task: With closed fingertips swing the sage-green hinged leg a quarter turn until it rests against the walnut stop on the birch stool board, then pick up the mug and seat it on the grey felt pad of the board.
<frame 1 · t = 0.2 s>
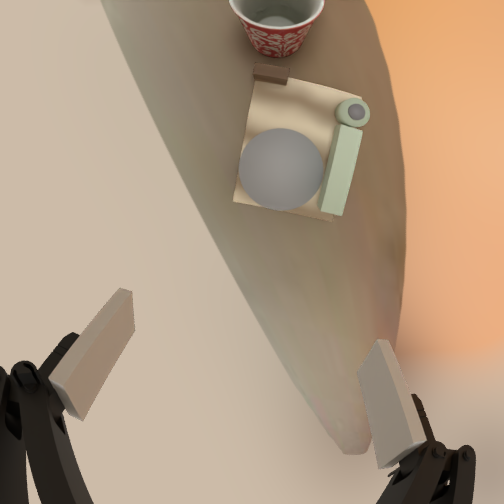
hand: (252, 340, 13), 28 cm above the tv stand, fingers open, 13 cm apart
mug: (285, 31, 28), on the tv stand
leg: (343, 155, 31), point 4 cm above the tv stand, hinge at 0.0°
stool board: (296, 146, 35), on the tv stand
seat pad: (280, 167, 36), resting on stool board
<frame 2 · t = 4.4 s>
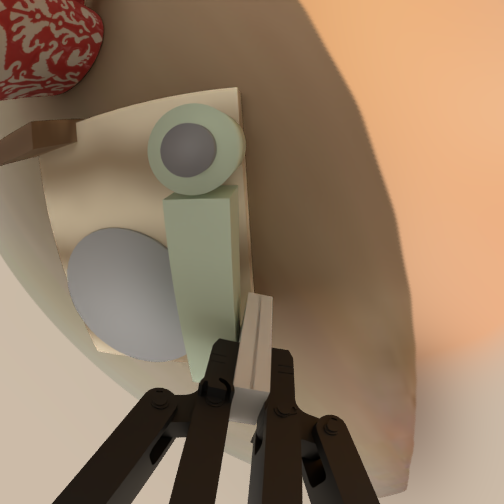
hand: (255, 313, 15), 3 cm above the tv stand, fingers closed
mug: (80, 33, 11), on the tv stand
leg: (206, 266, 13), point 4 cm above the tv stand, hinge at -3.2°, touching gripper
stool board: (148, 244, 18), on the tv stand
seat pad: (140, 288, 19), resting on stool board
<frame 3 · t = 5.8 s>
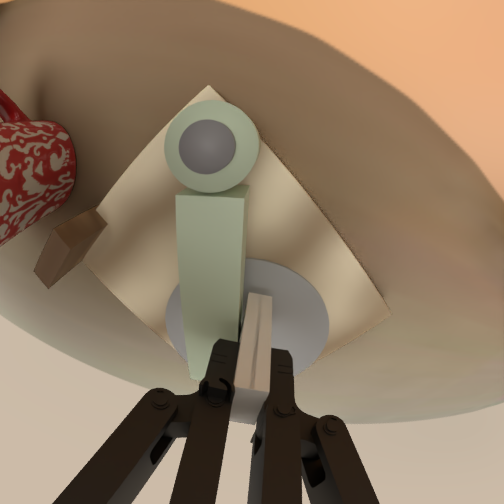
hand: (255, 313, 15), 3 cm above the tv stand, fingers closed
mug: (46, 145, 15), on the tv stand
leg: (213, 264, 13), point 4 cm above the tv stand, hinge at -44.6°, touching gripper
stool board: (230, 269, 18), on the tv stand
seat pad: (248, 314, 20), resting on stool board
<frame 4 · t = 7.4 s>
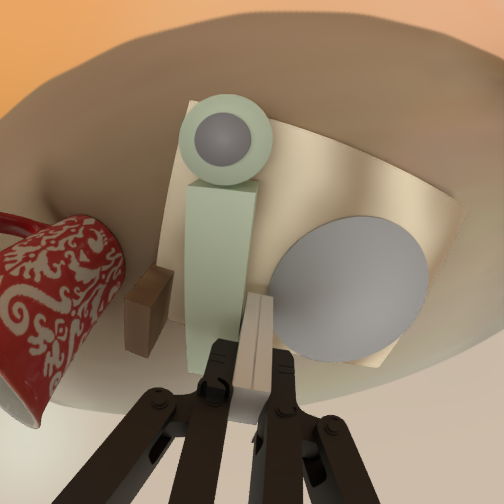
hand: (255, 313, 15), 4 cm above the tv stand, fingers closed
mug: (78, 239, 19), on the tv stand
leg: (219, 258, 13), point 4 cm above the tv stand, hinge at -80.6°, touching gripper
stool board: (308, 250, 17), on the tv stand
seat pad: (346, 283, 18), resting on stool board
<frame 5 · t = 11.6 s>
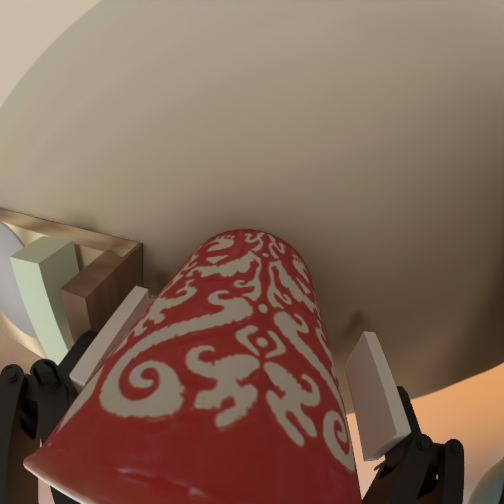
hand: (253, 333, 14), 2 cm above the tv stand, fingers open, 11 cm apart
mug: (264, 306, 16), on the tv stand
leg: (71, 353, 14), point 4 cm above the tv stand, hinge at -83.7°
stool board: (52, 297, 18), on the tv stand
seat pad: (24, 271, 17), resting on stool board
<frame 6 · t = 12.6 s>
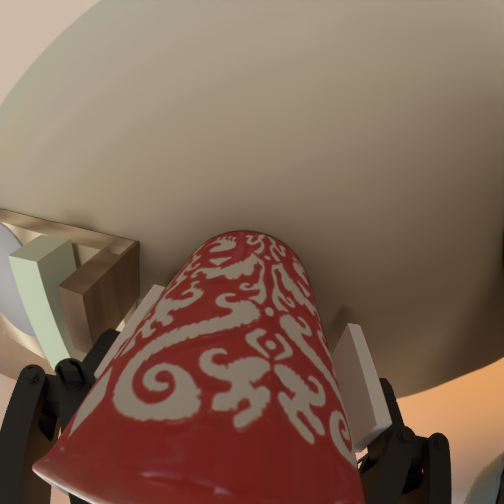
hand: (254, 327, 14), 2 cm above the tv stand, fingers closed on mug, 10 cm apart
mug: (261, 306, 16), on the tv stand, touching gripper
leg: (68, 351, 14), point 4 cm above the tv stand, hinge at -83.7°
stool board: (50, 296, 18), on the tv stand
seat pad: (22, 271, 17), resting on stool board
when the fingers open (6 cm above the tv stand, at t = 17.8 s): mug drops 1 cm, resting on seat pad.
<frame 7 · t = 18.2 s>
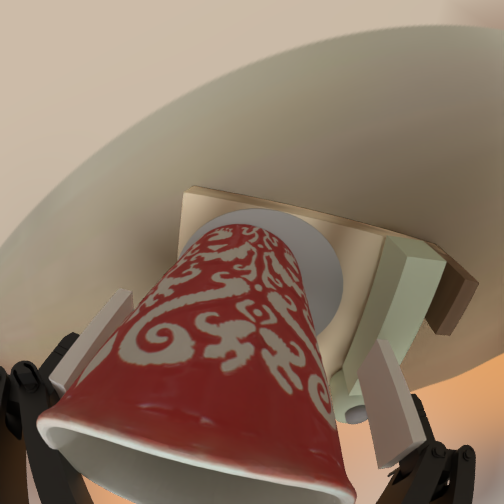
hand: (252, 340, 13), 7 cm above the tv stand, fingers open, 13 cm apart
mug: (256, 296, 18), point 2 cm above the tv stand, touching seat pad
leg: (379, 349, 16), point 4 cm above the tv stand, hinge at -83.7°
stool board: (301, 302, 20), on the tv stand
seat pad: (259, 276, 19), resting on stool board
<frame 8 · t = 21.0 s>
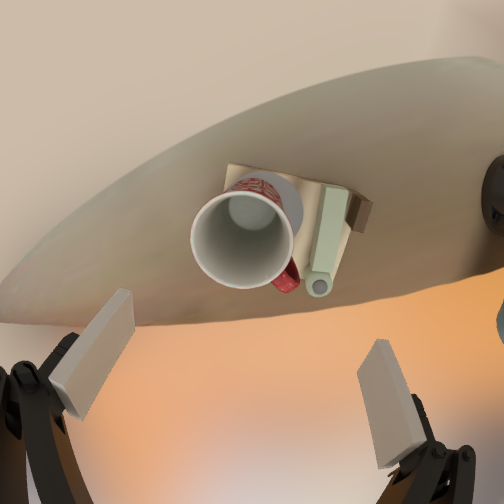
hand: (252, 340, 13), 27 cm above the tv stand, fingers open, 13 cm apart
mug: (260, 214, 36), point 2 cm above the tv stand, touching seat pad
leg: (325, 243, 35), point 4 cm above the tv stand, hinge at -83.7°
stool board: (284, 223, 39), on the tv stand
seat pad: (262, 208, 38), resting on stool board
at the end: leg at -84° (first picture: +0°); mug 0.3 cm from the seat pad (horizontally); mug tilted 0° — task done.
